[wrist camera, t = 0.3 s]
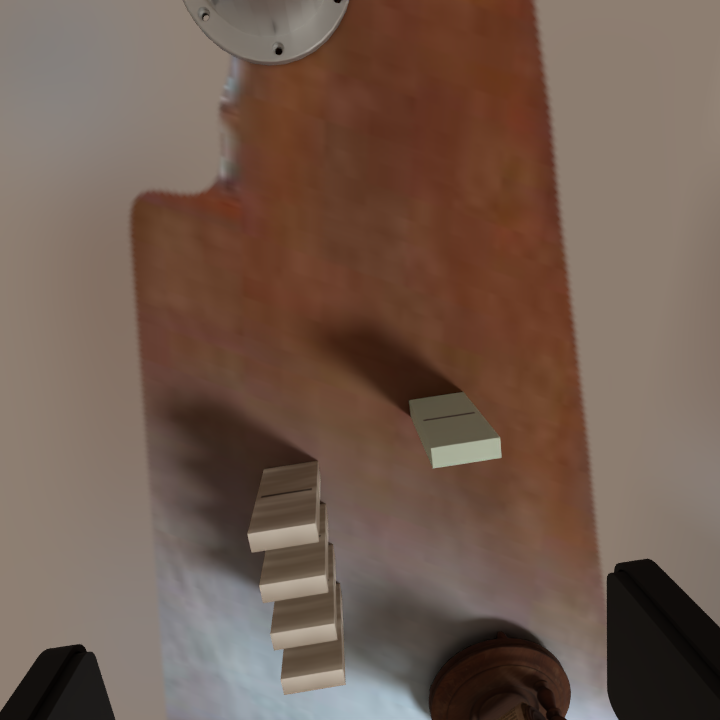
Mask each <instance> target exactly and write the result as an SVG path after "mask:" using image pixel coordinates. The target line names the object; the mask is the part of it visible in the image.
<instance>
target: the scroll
mask: <svg viewBox="0 0 720 720" xmlns="http://www.w3.org/2000/svg"><path fill="white" fill-rule="evenodd" d="M570 698H571V690H570V684H569V680H568V678H567V675H566V673H565V672H564V670H563V668H562V666H561V664H560V662H559V661H558V660H557V658H556V657H555V656H554V655H553V654H552V653H551V652H550V651H548V650H547V649H545V648H544V647H542V646H540V645H538V644H536V643H533V642H531V641H527V640H523V639H516V638H508V637H507V636H506V635H505V634H504V633H503V632H502V631H499V632H498V633H497V639H491V640H487V641H483V642H480V643H477V644H475V645H472V646H470V647H468V648H466V649H464V650H462V651H461V652H459V653H458V654H456V655H455V656H453V657H452V658H451V659H450V660H449V661H448V662H447V663H446V664H445V665H444V666H443V667H442V668H441V670H440V671H439V672H438V674H437V675H436V677H435V679H434V681H433V684H432V685H431V687H430V694H429V709H430V713H431V718H432V720H567V719H566V718H565V715H566V713H567V711H568V708H569V704H570Z"/></svg>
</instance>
